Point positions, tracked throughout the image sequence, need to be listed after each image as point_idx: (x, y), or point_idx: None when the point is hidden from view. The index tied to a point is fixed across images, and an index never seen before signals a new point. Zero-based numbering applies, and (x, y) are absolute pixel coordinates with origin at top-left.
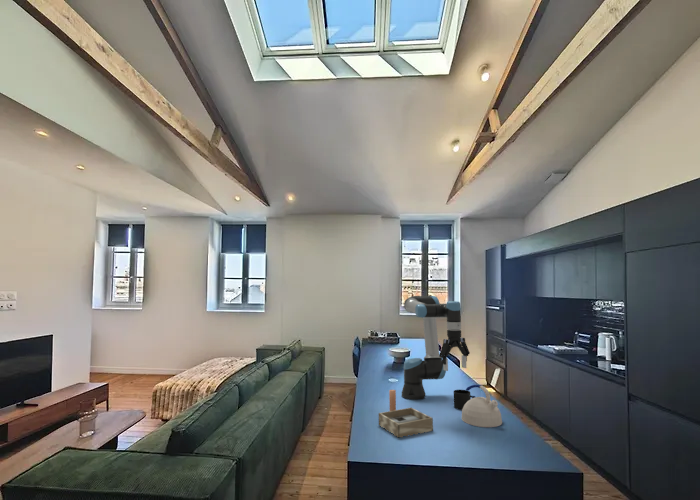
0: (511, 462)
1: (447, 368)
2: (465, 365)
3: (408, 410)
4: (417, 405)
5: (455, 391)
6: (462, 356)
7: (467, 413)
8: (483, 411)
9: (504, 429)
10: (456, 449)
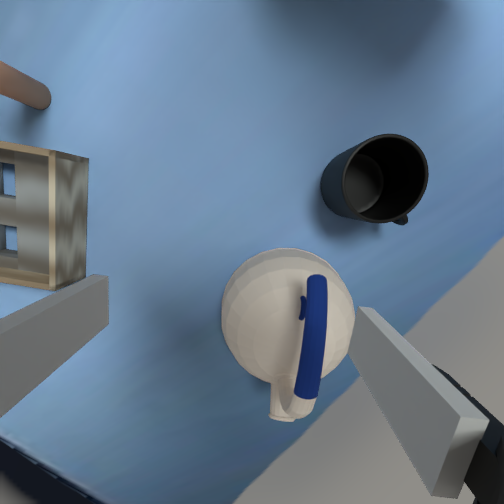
0: (113, 481)
1: (86, 336)
2: (359, 371)
3: (43, 155)
4: (226, 37)
5: (381, 139)
6: (438, 423)
7: (222, 312)
8: (245, 368)
9: (270, 385)
10: (56, 388)
